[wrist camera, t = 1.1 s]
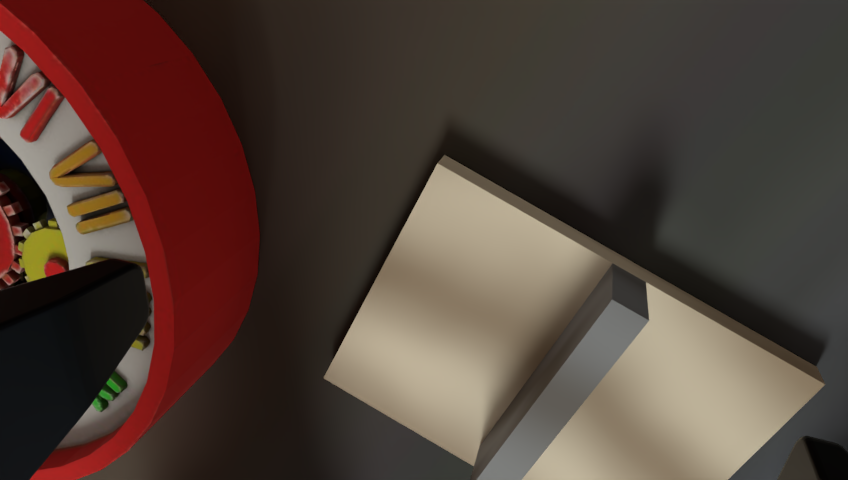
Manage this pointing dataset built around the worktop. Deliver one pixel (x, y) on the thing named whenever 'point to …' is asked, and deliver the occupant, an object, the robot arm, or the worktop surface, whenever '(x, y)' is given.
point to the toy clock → (124, 197)
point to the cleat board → (556, 350)
